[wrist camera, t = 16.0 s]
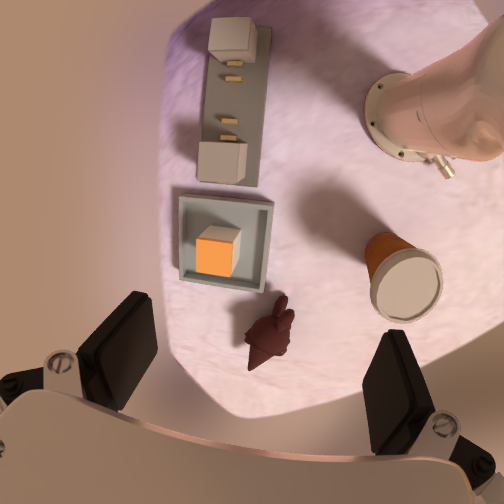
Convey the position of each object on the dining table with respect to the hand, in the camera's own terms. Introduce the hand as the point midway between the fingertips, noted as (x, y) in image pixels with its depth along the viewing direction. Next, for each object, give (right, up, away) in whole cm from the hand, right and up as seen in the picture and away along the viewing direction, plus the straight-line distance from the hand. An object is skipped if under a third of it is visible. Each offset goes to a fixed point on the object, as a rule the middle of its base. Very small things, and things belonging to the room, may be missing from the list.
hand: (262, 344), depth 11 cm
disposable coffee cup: (+19, +4, +29) cm, 35 cm away
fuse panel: (-3, +24, +24) cm, 34 cm away
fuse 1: (-2, +31, +20) cm, 37 cm away
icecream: (+3, -9, +37) cm, 38 cm away
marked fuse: (-4, +5, +31) cm, 32 cm away
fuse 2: (-3, +16, +26) cm, 31 cm away
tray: (-4, +5, +32) cm, 32 cm away
